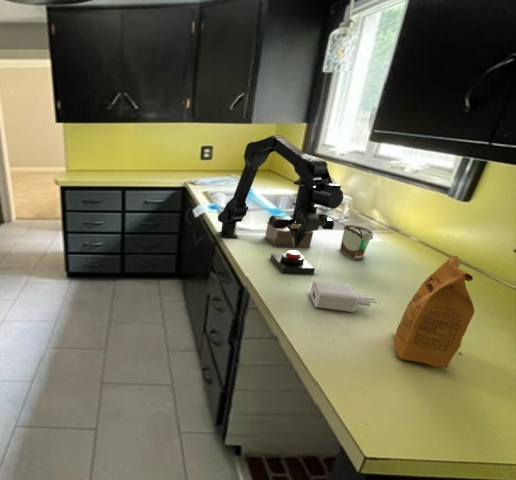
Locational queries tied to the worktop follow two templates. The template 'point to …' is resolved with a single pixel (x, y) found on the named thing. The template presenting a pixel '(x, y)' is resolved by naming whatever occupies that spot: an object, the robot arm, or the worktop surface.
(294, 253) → the button
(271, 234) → the chest
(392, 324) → the worktop surface
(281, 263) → the button box
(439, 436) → the worktop surface
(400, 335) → the coffee package
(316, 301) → the charger
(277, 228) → the lid
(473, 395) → the worktop surface
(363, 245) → the food container
